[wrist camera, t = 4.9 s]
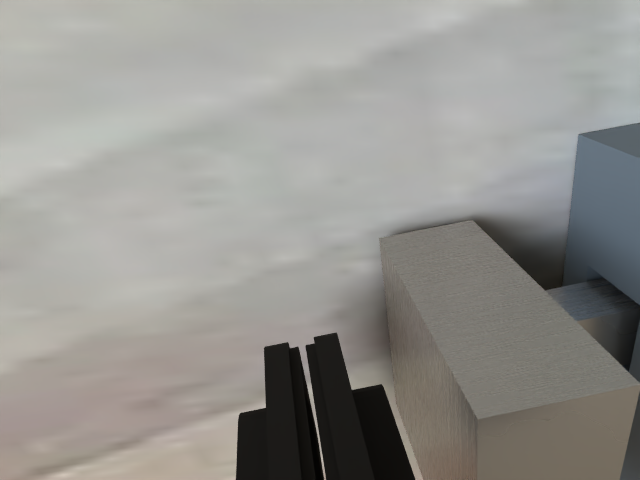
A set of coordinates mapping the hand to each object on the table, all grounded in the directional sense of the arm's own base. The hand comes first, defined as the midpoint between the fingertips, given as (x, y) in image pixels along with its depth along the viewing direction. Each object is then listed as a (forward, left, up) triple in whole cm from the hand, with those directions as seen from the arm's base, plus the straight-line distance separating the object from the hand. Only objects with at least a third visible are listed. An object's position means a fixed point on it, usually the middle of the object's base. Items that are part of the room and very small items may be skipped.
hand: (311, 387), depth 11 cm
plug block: (-7, +1, -3) cm, 7 cm away
